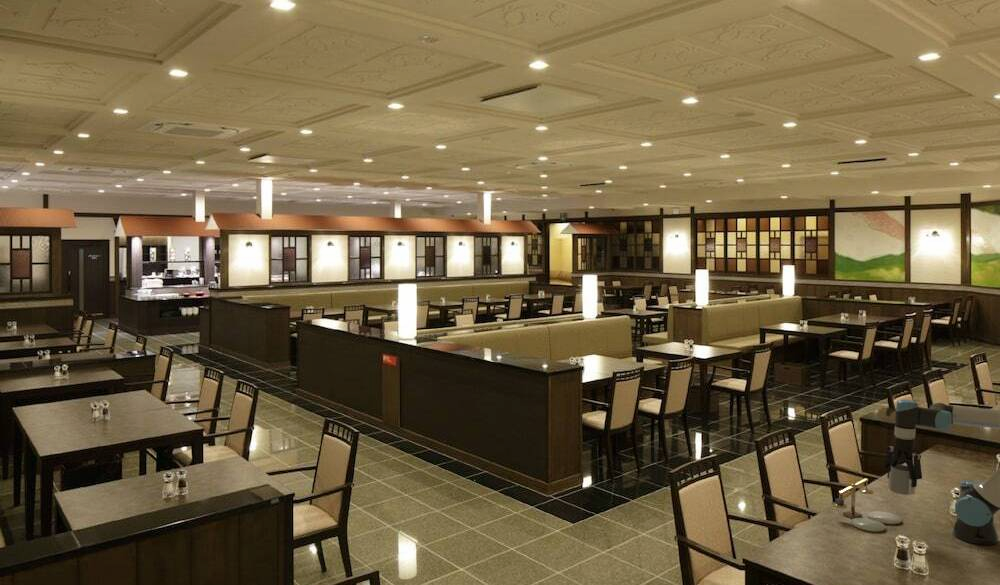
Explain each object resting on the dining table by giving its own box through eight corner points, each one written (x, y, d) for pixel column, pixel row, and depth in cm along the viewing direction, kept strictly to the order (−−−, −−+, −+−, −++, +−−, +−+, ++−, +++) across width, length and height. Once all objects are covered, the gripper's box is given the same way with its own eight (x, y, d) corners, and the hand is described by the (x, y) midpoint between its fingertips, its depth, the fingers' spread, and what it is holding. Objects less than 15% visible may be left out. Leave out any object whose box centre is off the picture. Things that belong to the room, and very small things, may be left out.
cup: (915, 495, 280) (917, 471, 279) (893, 493, 282) (895, 470, 281) (908, 488, 288) (909, 465, 288) (886, 486, 290) (888, 463, 289)
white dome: (908, 522, 296) (908, 519, 296) (887, 526, 291) (887, 524, 291) (881, 512, 308) (881, 509, 308) (861, 516, 303) (861, 513, 303)
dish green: (892, 529, 288) (892, 527, 288) (870, 534, 283) (870, 531, 283) (865, 518, 300) (865, 516, 300) (844, 523, 295) (844, 520, 295)
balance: (864, 510, 310) (865, 476, 309) (875, 514, 305) (876, 479, 304) (829, 517, 301) (830, 481, 300) (839, 521, 296) (841, 485, 295)
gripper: (935, 443, 275) (931, 498, 277) (887, 429, 295) (884, 481, 296) (922, 445, 272) (918, 500, 274) (875, 431, 292) (872, 483, 293)
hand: (901, 490), depth 285 cm, fingers closed on cup, 8 cm apart
